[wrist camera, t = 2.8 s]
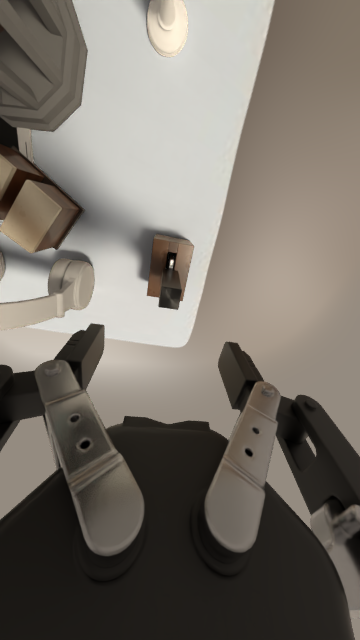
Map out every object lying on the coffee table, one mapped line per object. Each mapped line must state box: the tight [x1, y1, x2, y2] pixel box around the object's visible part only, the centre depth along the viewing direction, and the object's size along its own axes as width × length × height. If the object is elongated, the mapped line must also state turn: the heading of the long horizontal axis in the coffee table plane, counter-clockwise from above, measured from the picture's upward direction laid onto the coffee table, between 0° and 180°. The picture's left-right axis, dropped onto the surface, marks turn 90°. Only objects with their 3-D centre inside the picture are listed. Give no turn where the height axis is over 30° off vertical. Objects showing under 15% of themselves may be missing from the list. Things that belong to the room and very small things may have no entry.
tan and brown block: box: [0, 144, 84, 253], centre depth 28 cm, size 9×11×7 cm
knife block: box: [147, 234, 194, 301], centre depth 34 cm, size 9×6×7 cm, turn 169°
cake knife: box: [159, 252, 182, 310], centre depth 29 cm, size 5×2×18 cm, turn 169°
